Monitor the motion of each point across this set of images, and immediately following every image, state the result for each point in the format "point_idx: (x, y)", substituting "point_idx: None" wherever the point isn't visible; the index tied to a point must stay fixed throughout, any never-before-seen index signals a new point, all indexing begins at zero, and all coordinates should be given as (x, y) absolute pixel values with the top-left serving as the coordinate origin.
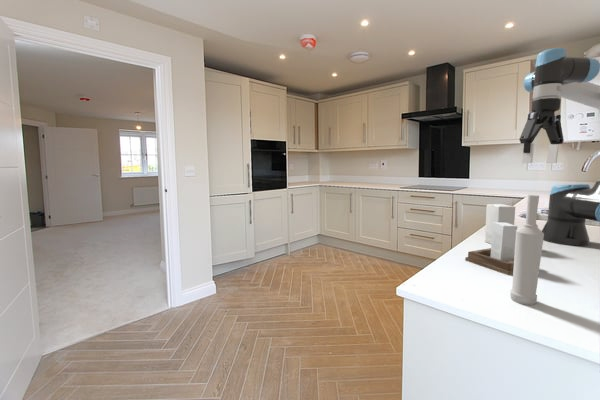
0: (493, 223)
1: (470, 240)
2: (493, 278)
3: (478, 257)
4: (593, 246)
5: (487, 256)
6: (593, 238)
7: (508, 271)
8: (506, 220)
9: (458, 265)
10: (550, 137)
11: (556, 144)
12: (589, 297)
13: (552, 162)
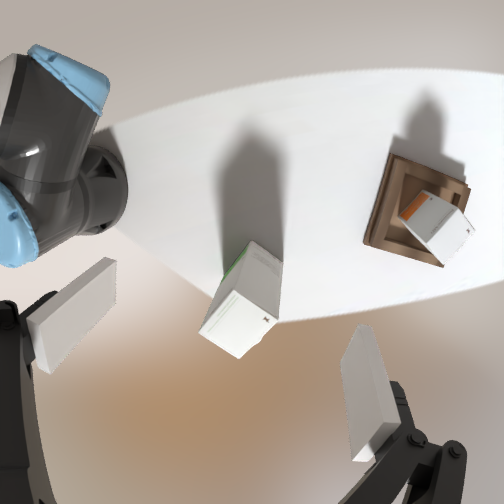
0: (444, 263)
1: None
2: (492, 195)
3: None
4: None
5: None
6: None
7: (467, 184)
8: (263, 282)
9: (469, 258)
10: (32, 407)
11: (42, 329)
12: (468, 76)
13: (114, 277)
